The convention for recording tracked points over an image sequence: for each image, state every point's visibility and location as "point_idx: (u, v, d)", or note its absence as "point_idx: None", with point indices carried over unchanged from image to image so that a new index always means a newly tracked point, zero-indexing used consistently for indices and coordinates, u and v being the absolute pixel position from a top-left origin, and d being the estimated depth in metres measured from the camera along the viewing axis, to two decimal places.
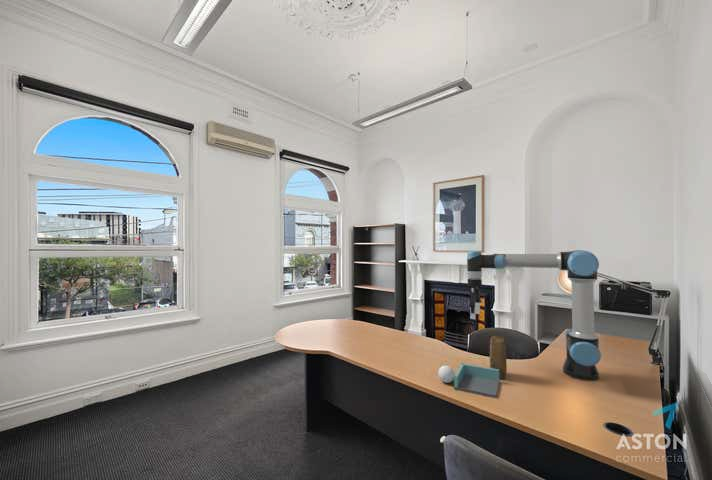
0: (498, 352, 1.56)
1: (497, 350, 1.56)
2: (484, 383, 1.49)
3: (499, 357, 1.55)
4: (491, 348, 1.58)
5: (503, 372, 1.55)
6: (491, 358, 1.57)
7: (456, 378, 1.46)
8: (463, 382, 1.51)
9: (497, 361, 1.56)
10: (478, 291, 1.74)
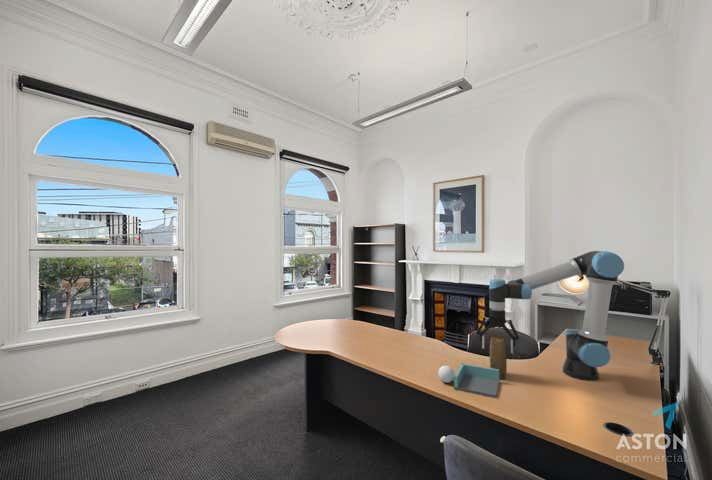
0: (498, 352, 1.56)
1: (497, 350, 1.56)
2: (484, 383, 1.49)
3: (499, 357, 1.55)
4: (491, 348, 1.58)
5: (503, 372, 1.55)
6: (491, 358, 1.57)
7: (456, 378, 1.46)
8: (463, 382, 1.51)
9: (497, 361, 1.56)
10: (499, 324, 1.59)
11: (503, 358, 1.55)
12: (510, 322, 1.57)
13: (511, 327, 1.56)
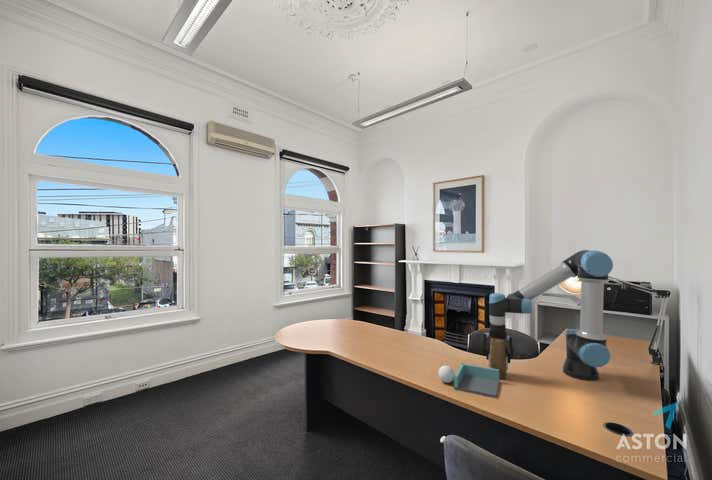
0: (498, 352, 1.56)
1: (497, 350, 1.56)
2: (484, 383, 1.49)
3: (499, 357, 1.55)
4: (491, 348, 1.58)
5: (503, 372, 1.55)
6: (491, 358, 1.57)
7: (456, 378, 1.46)
8: (463, 382, 1.51)
9: (497, 361, 1.56)
10: (499, 338, 1.59)
11: (503, 358, 1.55)
12: (510, 338, 1.56)
13: (509, 343, 1.57)
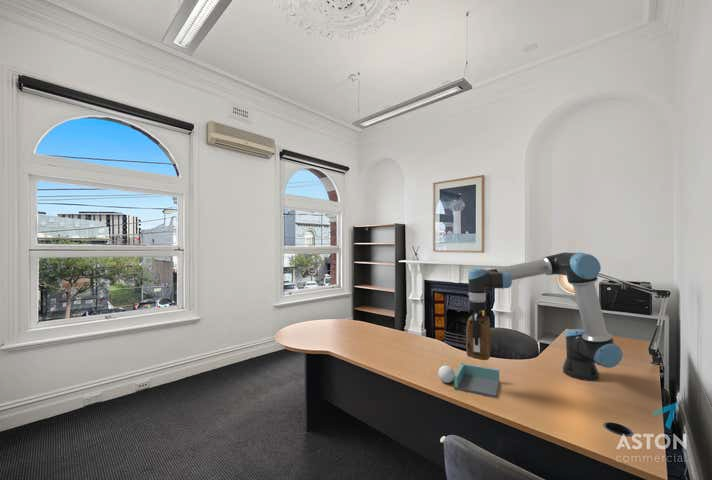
0: (489, 330, 1.45)
1: (489, 328, 1.45)
2: (484, 383, 1.49)
3: None
4: (487, 328, 1.43)
5: None
6: (488, 339, 1.43)
7: (456, 378, 1.46)
8: (463, 382, 1.51)
9: (490, 339, 1.45)
10: None
11: None
12: (481, 313, 1.52)
13: None
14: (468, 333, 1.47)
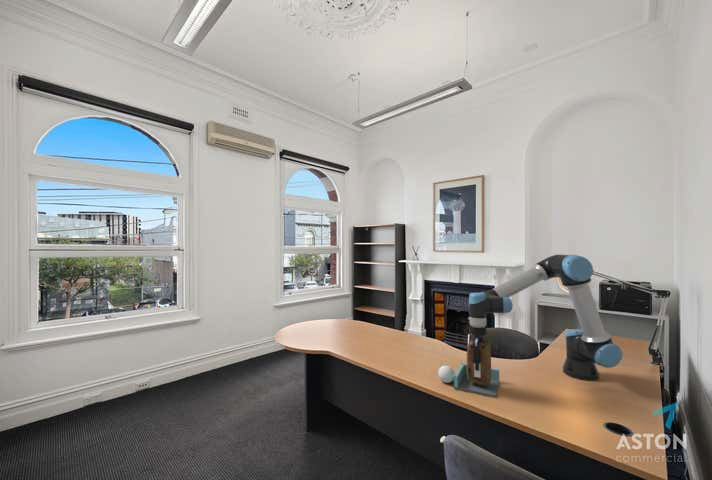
0: (490, 354, 1.45)
1: (490, 353, 1.45)
2: None
3: (490, 359, 1.46)
4: (488, 353, 1.43)
5: None
6: (489, 364, 1.43)
7: (456, 378, 1.46)
8: (463, 382, 1.51)
9: (490, 364, 1.45)
10: (482, 340, 1.47)
11: None
12: (482, 336, 1.52)
13: None
14: (469, 358, 1.46)
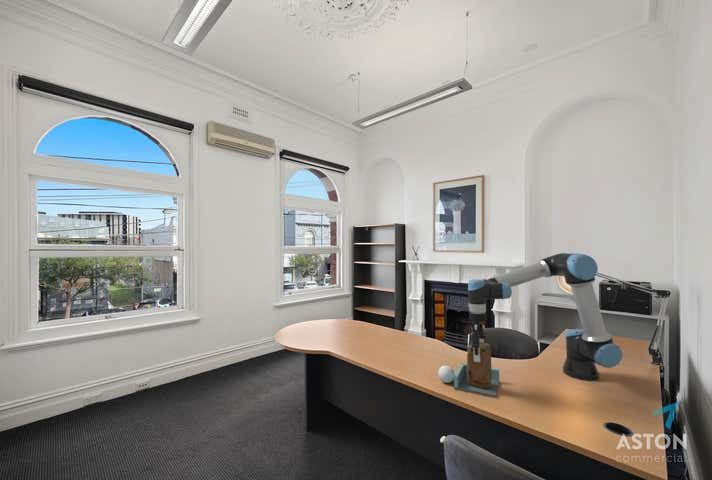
0: (490, 358, 1.45)
1: (490, 356, 1.45)
2: None
3: (490, 362, 1.46)
4: (488, 356, 1.43)
5: None
6: (489, 368, 1.42)
7: (456, 378, 1.46)
8: (463, 382, 1.51)
9: (490, 367, 1.45)
10: (482, 327, 1.48)
11: None
12: (482, 321, 1.52)
13: None
14: (469, 361, 1.46)
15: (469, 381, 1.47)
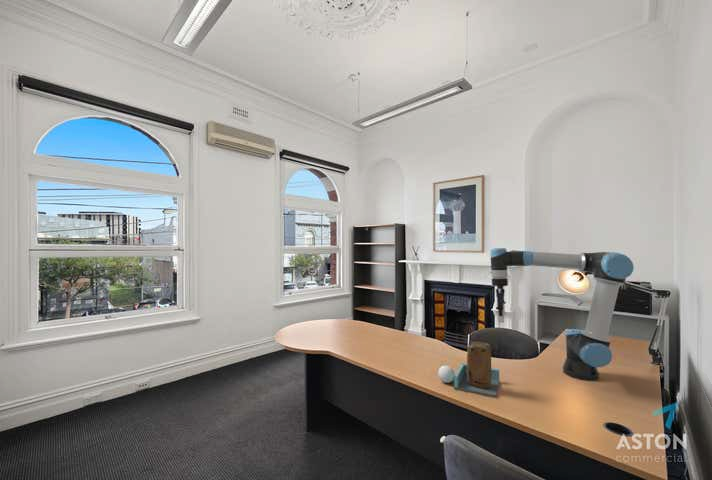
0: (490, 358, 1.45)
1: (490, 356, 1.45)
2: None
3: (490, 362, 1.46)
4: (488, 356, 1.43)
5: None
6: (489, 367, 1.43)
7: (456, 378, 1.46)
8: (463, 382, 1.51)
9: (490, 367, 1.45)
10: (504, 291, 1.59)
11: None
12: None
13: None
14: (469, 361, 1.46)
15: (469, 381, 1.47)
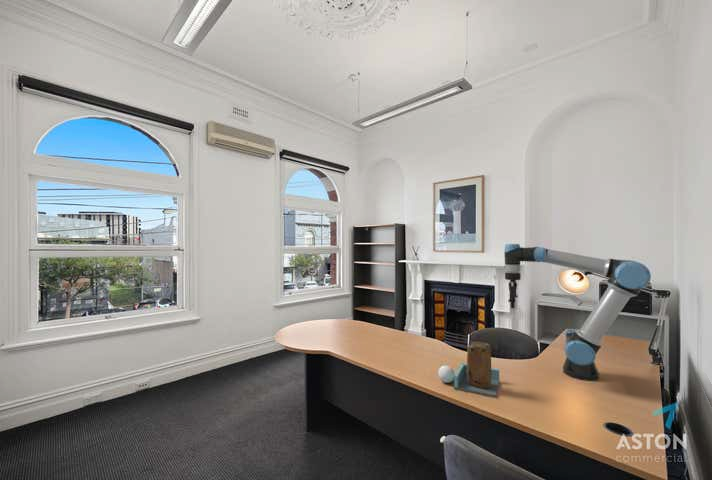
0: (490, 358, 1.45)
1: (490, 356, 1.45)
2: None
3: (490, 362, 1.46)
4: (488, 356, 1.43)
5: None
6: (489, 367, 1.42)
7: (456, 378, 1.46)
8: (463, 382, 1.51)
9: (490, 367, 1.45)
10: None
11: None
12: (515, 281, 1.72)
13: None
14: (469, 361, 1.46)
15: (469, 381, 1.47)
